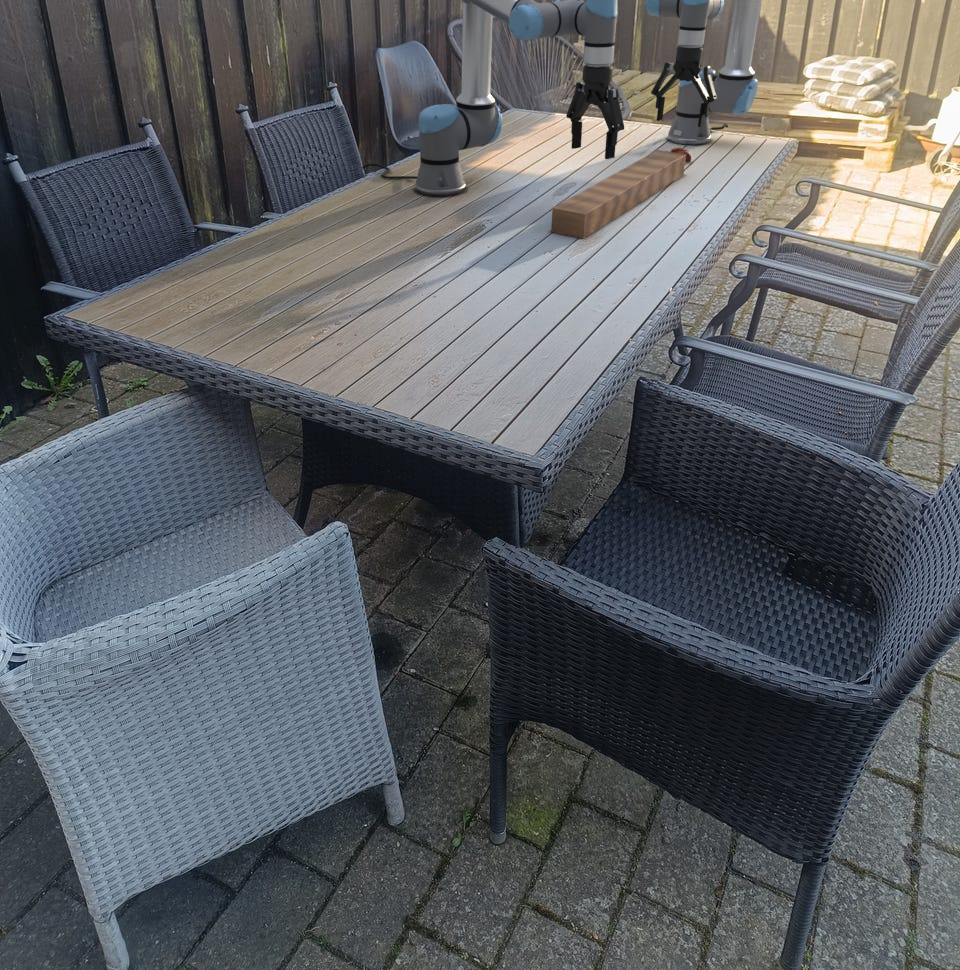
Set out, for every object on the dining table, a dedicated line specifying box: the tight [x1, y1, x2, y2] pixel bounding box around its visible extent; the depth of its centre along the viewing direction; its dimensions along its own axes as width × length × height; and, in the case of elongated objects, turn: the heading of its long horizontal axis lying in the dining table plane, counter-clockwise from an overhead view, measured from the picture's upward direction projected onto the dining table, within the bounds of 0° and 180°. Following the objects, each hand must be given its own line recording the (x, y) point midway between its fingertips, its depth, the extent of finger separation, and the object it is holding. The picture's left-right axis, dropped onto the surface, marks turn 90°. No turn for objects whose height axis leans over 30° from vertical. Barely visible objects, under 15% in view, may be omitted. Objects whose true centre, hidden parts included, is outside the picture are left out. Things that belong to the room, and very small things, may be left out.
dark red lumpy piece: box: [669, 146, 692, 163], centre depth 284 cm, size 6×4×8 cm
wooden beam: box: [550, 149, 686, 239], centre depth 248 cm, size 71×10×6 cm, turn 147°
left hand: (592, 153), depth 223 cm, fingers open, 13 cm apart
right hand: (679, 123), depth 259 cm, fingers open, 13 cm apart
